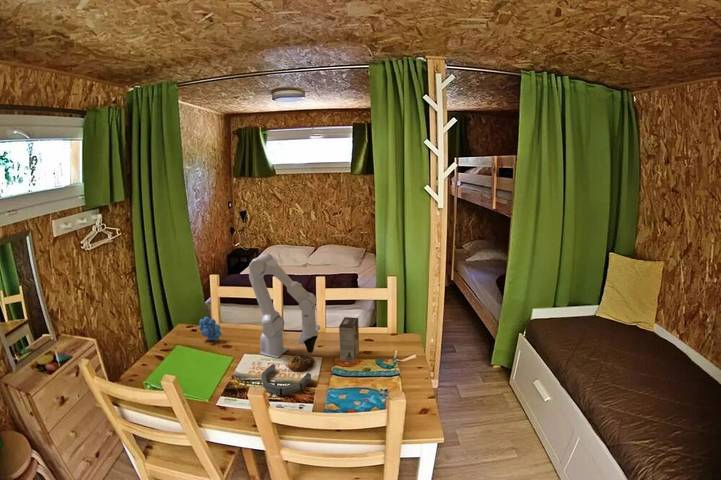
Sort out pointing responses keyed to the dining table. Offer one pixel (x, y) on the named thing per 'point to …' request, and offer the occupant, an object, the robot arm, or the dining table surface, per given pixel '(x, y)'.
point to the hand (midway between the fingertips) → (310, 351)
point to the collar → (285, 389)
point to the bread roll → (301, 362)
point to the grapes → (209, 328)
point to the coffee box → (349, 339)
